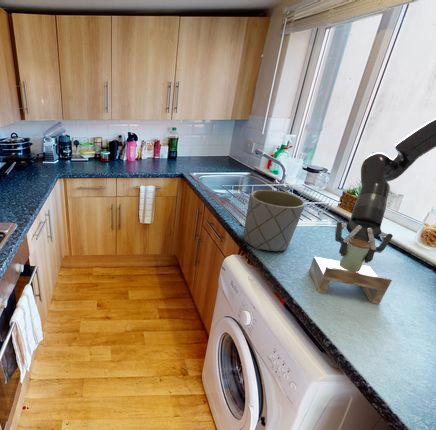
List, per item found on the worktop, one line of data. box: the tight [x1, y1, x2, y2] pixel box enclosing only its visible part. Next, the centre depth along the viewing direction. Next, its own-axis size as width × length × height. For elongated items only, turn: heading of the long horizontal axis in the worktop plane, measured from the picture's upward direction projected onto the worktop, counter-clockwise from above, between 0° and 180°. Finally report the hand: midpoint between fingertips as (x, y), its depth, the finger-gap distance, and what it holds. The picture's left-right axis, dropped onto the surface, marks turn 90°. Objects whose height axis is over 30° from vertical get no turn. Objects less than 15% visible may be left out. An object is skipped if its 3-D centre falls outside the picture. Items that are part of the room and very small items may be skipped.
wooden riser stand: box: [308, 256, 393, 305], centre depth 92 cm, size 16×12×9 cm
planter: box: [242, 189, 306, 252], centre depth 115 cm, size 19×19×20 cm
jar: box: [339, 238, 372, 272], centre depth 88 cm, size 6×6×9 cm
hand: (354, 258), depth 87 cm, fingers closed on jar, 5 cm apart
